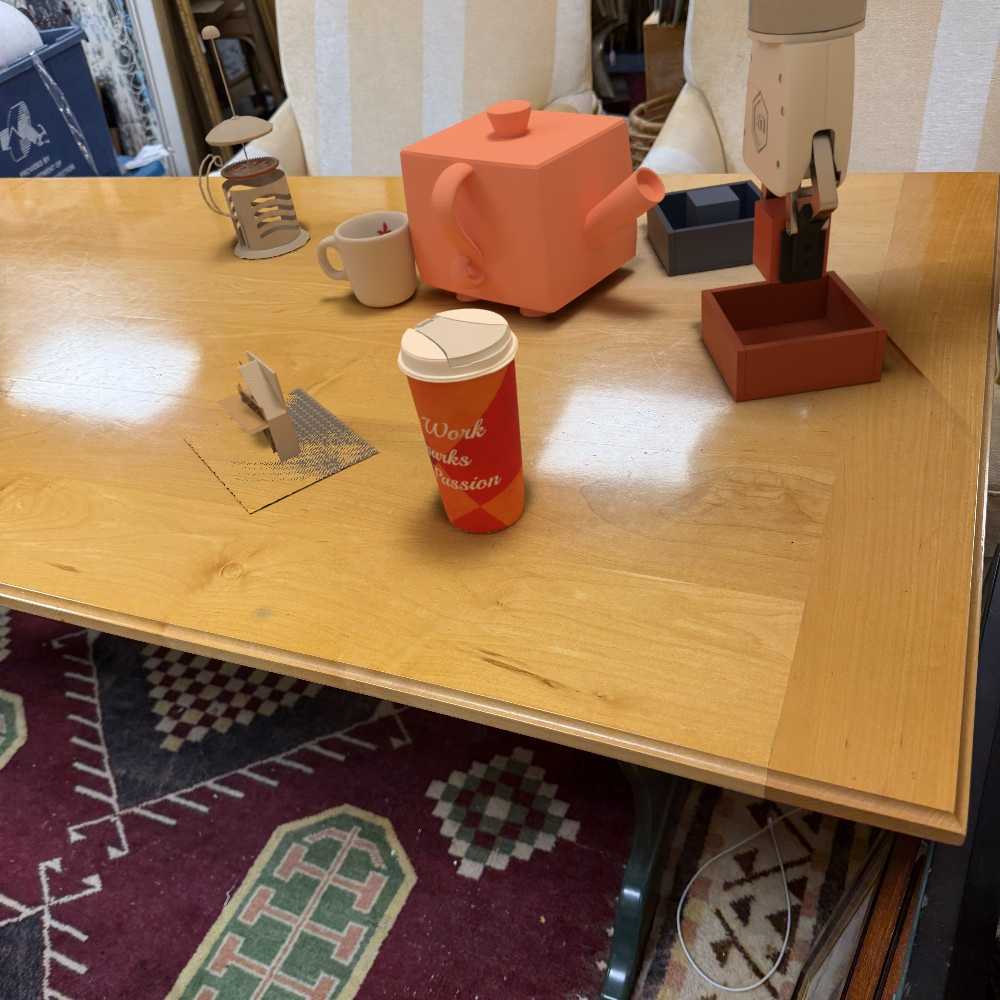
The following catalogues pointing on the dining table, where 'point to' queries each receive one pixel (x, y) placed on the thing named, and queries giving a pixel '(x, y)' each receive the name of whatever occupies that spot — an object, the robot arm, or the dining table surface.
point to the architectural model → (288, 420)
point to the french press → (253, 173)
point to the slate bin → (703, 233)
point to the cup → (374, 257)
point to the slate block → (711, 206)
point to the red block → (774, 235)
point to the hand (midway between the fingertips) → (789, 264)
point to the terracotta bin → (791, 337)
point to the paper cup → (469, 414)
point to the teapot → (525, 205)
